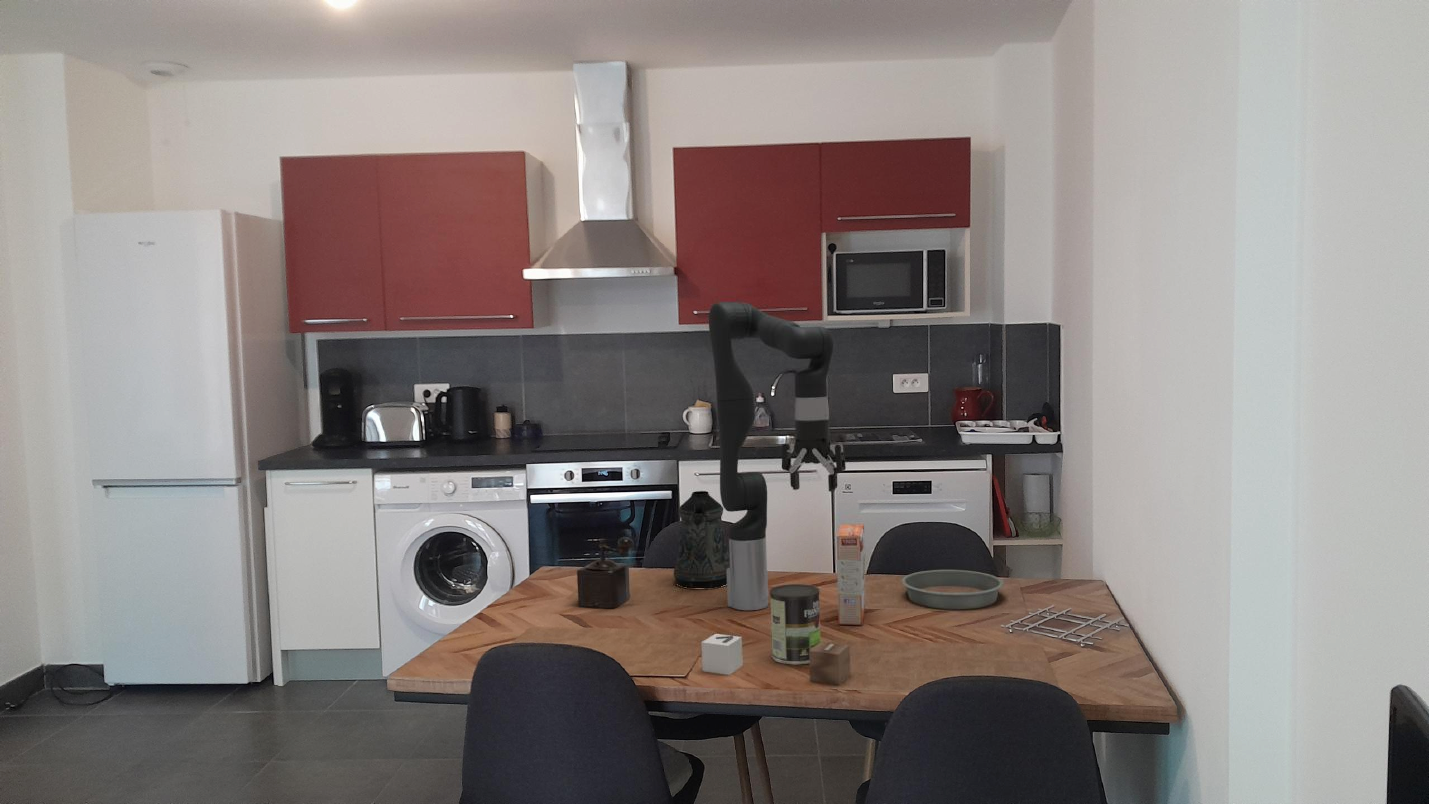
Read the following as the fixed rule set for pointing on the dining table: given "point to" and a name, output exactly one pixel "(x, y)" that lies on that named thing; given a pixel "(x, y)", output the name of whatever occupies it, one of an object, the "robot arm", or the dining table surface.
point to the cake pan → (952, 579)
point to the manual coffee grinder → (605, 579)
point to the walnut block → (829, 662)
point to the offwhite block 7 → (722, 654)
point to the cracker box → (851, 574)
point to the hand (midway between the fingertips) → (814, 490)
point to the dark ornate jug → (701, 544)
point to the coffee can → (794, 622)
